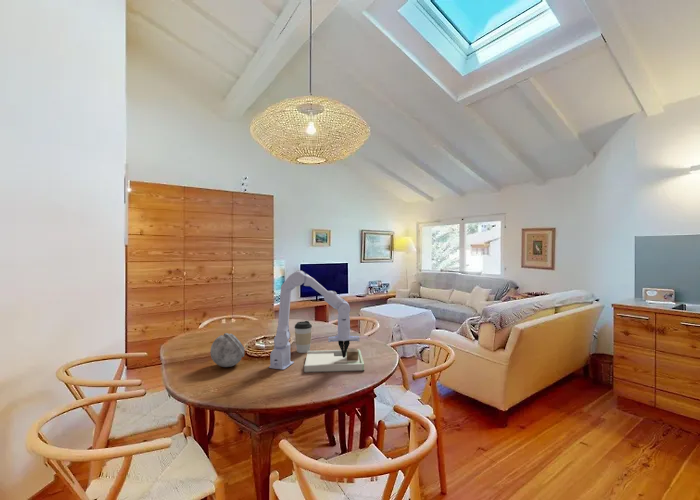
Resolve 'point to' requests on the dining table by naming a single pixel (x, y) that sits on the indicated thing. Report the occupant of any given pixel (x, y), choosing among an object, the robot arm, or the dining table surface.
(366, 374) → the dining table surface
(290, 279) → the robot arm
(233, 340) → the decorative orb
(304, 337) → the coffee cup
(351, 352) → the walnut block
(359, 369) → the board
